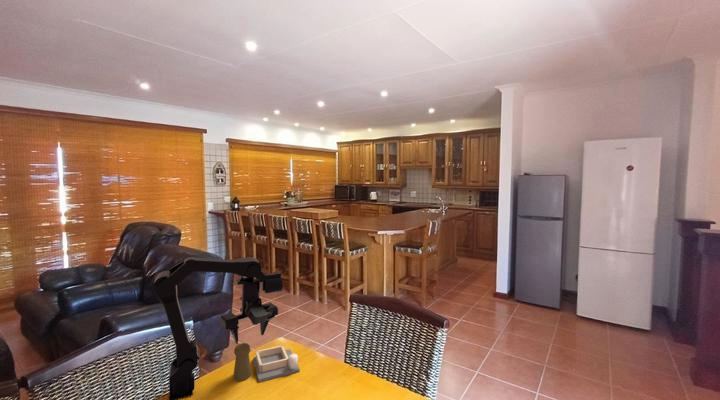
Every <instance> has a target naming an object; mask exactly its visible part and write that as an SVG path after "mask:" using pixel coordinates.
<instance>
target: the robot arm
mask: <svg viewBox="0 0 720 400" xmlns="http://www.w3.org/2000/svg"><path fill="white" fill-rule="evenodd" d="M262 269H263V268H262V265H261V263H260V261H259V260H258V259H257V258H255V257H253V256H249V257H247V256H245V257H239V258H234V259H226V258H225V259H224V258H223V259H222V258H206V257H194V256H189V257H187V258H185V259H184V260H182V261H181V262H179V263H178V264H176V265H174V266H172V267H171V268H169V269H168V270H164V271H160V272H159V273H157V275H156V276H155V278H154V282H153V286H152V289H153V291H154V293H155V295H156V297H157V299H158V300H159V302H160V303H161V304H162V305H163V308H164V311H165V313H166V317H167V320H168V325H169V327H170V330H171V331H170V332H171V334H172V338H173V341H174V343H175V354H176V355H175V356H176V357H175V358H174V359H173V361H171V362H170V368H169V377H168V382H169V383H168V384H169V387H168V388H169V390H168V391H169V395H168V400H180V399H184V398H188V397H192V395H194V390H195V372H193V371H194V370H195V369H196V368H197V366H198V365H199V364H198V363H199V361H198V360H200V355H201V354H200V347H198V344H197V343H198V342H197V338H195V339H193V340H192V339H191V337H190V336H189V334H188V330H187V327H186V323H185V319H184V316H183V312H182V307H181V306H180V302H179V298H178V285H179V284H181V282H182V281H184V280H185V279H186V278H187V277H188V276H189V275H191V274H192V273H193V272H195V273H196V272H197V273H223V274H225V273H226V274H234V275H238V276H239V277H238V278H237V279H236V280H235V282H236V284H237V286H238V285H239V286H240V285H241V288H242V289H241V296H240V298H239V300H240V301H241V307H239V312H240V314H237V315H236V314H235V313H233V312H229V313H225V314H222V315H221V316H220V318H219V324H220V325H221V326H222V327H223V328H224V329H225V330H228V331H230V333H231V335H232V337H233V341H234V343H235V345H238V344H239V328H240V326H239V322H241V321H243V320H247V319H249V320H250V321H251V323H252V325H254V326H256V325H259V324H260V327H259V328H260V336H264V334H265V332H266V330H267V327H268V324H269V322H270V321H271V320H272V319H273V318H274V319H275V317H276V316H277V315H279V307H278V306H277V305H275V304H273V303H272V302H268V303H264V304H263V303H262V298H261V297H260V294H261V293H260V292H263V293H264V294H273V293H281V292H283V285H284V284H283V280H282V279H283V278H282V273H281V272H280V271H277V272H274V273H273V272H272V273H266V272H265V271H264V270H262Z"/></svg>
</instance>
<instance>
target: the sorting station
mask: <svg viewBox="0 0 720 400" xmlns="http://www.w3.org/2000/svg"><path fill="white" fill-rule="evenodd" d="M298 359H299V355H298V354H296V353H292V350H291V348H289V349H285V347H284V345H277V346H273V347H269V348H263V349H260V350H256V351H255V356H254V357H252V362H253V365H254V370H255V373H256V377H257V381H258V383H260V382H264V381H268V380H273V379H276V378H280V377H285V376H288V375H292V374H295V373H296V374H297V373H300V372H301V370H300V367H299V365H298V364H299V363H298V362H299V360H298Z"/></svg>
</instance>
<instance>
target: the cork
mask: <svg viewBox="0 0 720 400" xmlns="http://www.w3.org/2000/svg"><path fill="white" fill-rule="evenodd" d="M233 349H234V350H233V353H234V356H235V360H234V368H233V375H232V376H233V377H232V378H233V380H234V381H236V382H243V381H246V380H248V379H250V378H251V377H252V374H253V373H252V367H251V360H250V355H249V354H250V352H251V346H250V344H249V343H246V342H245V343H244V342H242V343H241V342H240V343H238V344H236V345H235V347H234V348H233Z"/></svg>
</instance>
